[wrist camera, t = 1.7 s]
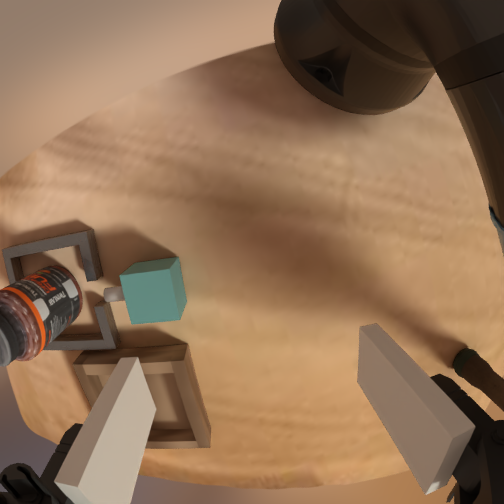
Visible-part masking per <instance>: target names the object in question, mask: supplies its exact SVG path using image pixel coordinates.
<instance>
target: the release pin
mask: <svg viewBox="0 0 504 504" xmlns="http://www.w3.org/2000/svg"><path fill="white" fill-rule="evenodd" d="M119 276H120V281H121V285H122V286H119V287H110V288H105V289H104V299H105V301H106V302H114V301H124V300H125V301H126V305H127V309H128V313H129V317H130V320H131V324H143V323H154V322H165V321H174V320H180V319H181V316H182V313H183V311H184V308H185V305H186V303H187V299H186V294H185V288H184V283H183V278H182V273H181V267H180V262H179V257H173V258H166V259H159V260H152V261H144V262H137V263H134V264H133V265H132V266H130V267H129V268H128V269H127V270H125V271H124V272H123V273H122V274H121V275H119Z"/></svg>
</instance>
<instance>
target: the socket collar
mask: <svg viewBox="0 0 504 504" xmlns="http://www.w3.org/2000/svg"><path fill="white" fill-rule="evenodd" d="M75 245H79V247H80V252H81V257H82V262H83V266H84V270H85V275H86V279H87V282H88V281H96V280H98V279H99V278H100V277H102V276H103V274H102V269H101V265H100V260H99V255H98V251H97V245H96V240H95V235H94V229H91V230H86V231H81V232H76V233H71V234H66V235H61V236H56V237H52V238H47V239H42V240H38V241H33V242H29V243H24V244H20V245H15V246H11V247H8V248H5V249H2V252H3V257H4V261H5V266H6V270H7V274H8V278H9V282H10V285H11V284H13V283H15V282H17V281H19V280H21V279H23V278H24V277H23V273H22V269H21V264H20V260H19V256H23V255H28V254H33V253H38V252H43V251H48V250H53V249H59V248H64V247H70V246H75ZM94 309H95V313H96V316H97V320H98V323H99V326H100V329H101V333H99V334H79V335H58V336H57V337H56V338H55V339H54V340H53V341H52V342H51V343H50V344H49V345H48V346H47V347H45V348H44V349H43V350H98V349H116V348H117V347H118V345H119V344H120V342H121V340H120V337H119V334H118V330H117V327H116V324H115V320H114V317H113V313H112V310H111V306H110V302H106V301H100V302H99V303H98V304H97V305H96V306H95V307H94Z"/></svg>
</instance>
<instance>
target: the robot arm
mask: <svg viewBox="0 0 504 504" xmlns="http://www.w3.org/2000/svg"><path fill="white" fill-rule="evenodd" d="M274 39H275V44H276V47H277V51H278V53H279V55H280V57H281V59H282V61H283V63H284V65H285V66H286V68H287V69H288V71H289V72H290V73H291V75H292V76H293V77H294V78H295V79H296V80H297V81H298V82H299V83H300V84H301V85H302V86H303V87H304V88H305V89H306V90H308V91H309V92H310V93H311V94H313V95H314V96H316V97H317V98H319V99H320V100H322V101H324V102H326V103H327V104H329V105H332V106H334V107H336V108H339V109H341V110H344V111H348V112H351V113H356V114H363V115H377V114H384V113H388V112H391V111H393V110H396V109H398V108H401V107H403V106H405V105H407V104H409V103H411V102H412V101H413V100H415V99H416V98H417V97H418V96H419V95H420V94H421V93H422V92H423V90H424V89H425V87H426V85H427V84H428V82H429V80H430V79H431V77H432V76H433V75H434V73H435V72H436V73H437V75H438V76H439V78H440V80H441V82H442V84H443V86H444V87H445V91H446V93H447V94H448V96H449V98H450V101H451V103H452V105H453V107H454V109H455V111H456V113H457V115H458V118H459V120H460V122H461V124H462V127H463V129H464V131H465V134H466V136H467V139H468V141H469V144H470V146H471V149H472V151H473V154H474V157H475V160H476V162H477V165H478V168H479V171H480V174H481V177H482V180H483V183H484V187H485V190H486V193H487V197H488V200H489V210H490V216H491V220H492V222H493V224H494V226H495V227H496V228H497V232H498V236H499V239H500V243H501V247H502V252H503V256H504V0H282V1H281V2H280V5H279V8H278V11H277V14H276V18H275V23H274ZM357 382H358V384H359V385H360V387H361V389H362V390H363V392H364V393H365V395H366V397H367V398H368V400H369V402H370V403H371V405H372V406H373V408H374V410H375V411H376V413H377V415H378V416H379V418H380V420H381V421H382V423H383V425H384V426H385V428H386V429H387V431H388V433H389V434H390V436H391V438H392V439H393V441H394V443H395V444H396V446H397V448H398V449H399V451H400V453H401V454H402V456H403V458H404V460H405V461H406V463H407V465H408V466H409V468H410V470H411V471H412V473H413V475H414V476H415V478H416V480H417V482H418V483H419V485H420V487H421V488H422V490H423V492H424V494H425V495H427V494H429V493H431V492H433V491H435V490H437V489H439V488H441V487H443V486H445V485H447V483H448V481H449V479H450V478H451V476H452V475H453V476H454V477H455V479H456V480H457V483H456V484H455V486H454V488H453V489H452V491H451V492H450V494H449V496H448V498H447V502H450V501H451V499H452V498H453V496H454V504H504V420H497V421H494V420H493V419H492V418H491V417H490V416H489V415H488V414H487V413H486V412H485V411H484V410H483V409H482V408H481V407H480V406H479V405H478V404H477V403H476V402H475V401H474V400H473V399H472V398H471V397H470V396H468V394H467V393H466V392H465V391H464V390H463V389H462V390H461V387H459V386H458V385H457V384H456V383H455V382H454V381H453V380H452V379H450V378H448V377H446V376H444V375H442V374H437V375H435V376H432V377H429V376H428V375H427V374H426V373H425V372H424V371H423V370H422V369H421V368H420V367H419V366H418V365H417V364H416V363H415V361H414V360H413V359H412V358H411V357H410V356H409V355H408V354H407V353H406V352H405V351H404V350H403V349H402V348H401V347H400V346H399V345H398V344H397V343H396V342H395V341H394V340H393V339H392V338H391V337H390V336H389V335H388V334H387V333H386V332H385V331H384V330H383V329H382V328H381V327H380V326H379V325H378V324H377V323H375V324H371V325H367V326H362V327H359V359H358V378H357ZM155 412H156V407H155V404H154V401H153V399H152V396H151V393H150V391H149V388H148V385H147V382H146V379H145V377H144V374H143V371H142V368H141V365H140V362H139V359H138V357H128V358H121V359H120V360H119V362H118V364H117V365H116V367H115V369H114V371H113V372H112V374H111V376H110V377H109V379H108V381H107V383H106V384H105V386H104V388H103V390H102V391H101V393H100V395H99V397H98V398H97V400H96V402H95V404H94V406H93V407H92V409H91V411H90V413H89V415H88V417H87V418H86V420H85V422H84V424H77V423H75V424H74V425H73V426H72V427H71V428H70V429H68V430H67V431H66V432H65V434H64V435H63V437H62V439H61V441H60V444H58V446H57V448H56V450H55V453H54V454H53V455H52V457H51V459H50V461H49V462H48V464H47V466H46V468H45V470H44V472H43V474H42V475H41V477H40V478H39V477H38V476H37V474H36V473H35V472H34V471H33V469H32V468H31V467H30V466H28V465H26V464H24V463H22V464H21V463H16V464H12V465H10V466H8V467H6V468H5V469H4V470H3V471H2V472H1V474H0V483H1V484H2V486H3V487H4V488H5V489H6V490H7V491H8V492H0V504H130V502H131V499H132V495H133V491H134V487H135V483H136V479H137V476H138V472H139V468H140V465H141V461H142V457H143V454H144V450H145V447H146V443H147V439H148V436H149V432H150V429H151V426H152V422H153V419H154V415H155Z"/></svg>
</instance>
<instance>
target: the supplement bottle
mask: <svg viewBox="0 0 504 504" xmlns="http://www.w3.org/2000/svg"><path fill="white" fill-rule="evenodd" d="M82 304H83V300H82V293H81V290H80V287H79V285H78V283H77V281H76V280H75V278H74V277H73V276H72V275H71V274H70V273H69V272H68V271H67V270H65V269H63V268H61V267H58V266H49V267H46V268H43V269H41V270H38V271H37V272H35V273H33V274H31V275H29V276H27V277H25V278H23V279H21V280H19V281H17V282H15V283H13V284H11V285H9V286H7V287H5V288H3V289H1V290H0V366H7V365H9V364H10V363H11V362H12V361H13V360H18V361H29V360H31V359H33V358H34V357H36V356H37V355H38V354H39V353H40V352H41V351H42V350H43V349H44V348H45V347H47V346H48V345H49V344H50V343H51V342H52V341H53V340H54V339H55V338H56V337H57V336H58V335H59V334H60V333H61V332H62V331H64V330H65V329H66V328H67V327H68V326H69V325H70V324H71V323H72V322H73V321H74V320H75V319H76V318H77V317H78V316H79V314H80V312H81V309H82Z"/></svg>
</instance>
